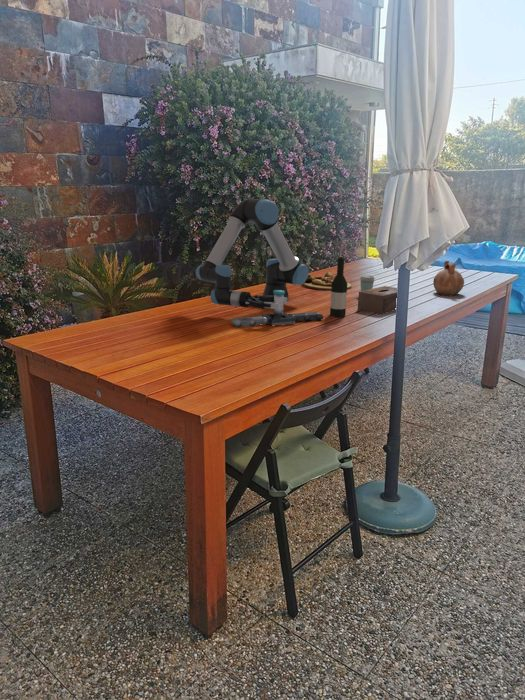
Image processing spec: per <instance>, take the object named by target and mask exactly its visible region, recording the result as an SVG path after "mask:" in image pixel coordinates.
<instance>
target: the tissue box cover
mask: <svg viewBox="0 0 525 700" xmlns="http://www.w3.org/2000/svg"><path fill="white" fill-rule="evenodd" d="M397 288H398V287H394V286H393V287H392V286H387V285H384V286H380V287H375V288H374V287H373V288H372V289H369V290H365V291H361V290H360V291H358V296H357V298H358V299H357V310H358V311H362V310H363V312H367V311H368V312H367V313H371V312H373V313H372V314H376V313H378V315H384V314H387V313H386V312H388V313H391V312H393V311H392V310H395V308H396V298H397ZM390 311H391V312H390ZM395 311H396V310H395ZM383 313H384V314H383Z"/></svg>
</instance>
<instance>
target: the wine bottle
mask: <svg viewBox="0 0 525 700" xmlns="http://www.w3.org/2000/svg"><path fill="white" fill-rule="evenodd" d="M344 267H345V258H344V256H342V255H339V256H338V257H337V268H336V275H335V276H336V277H335V278H334V277H333V281H332V289H331V291H330V292H331V293H330V305H329V307H330V309H329V316H330V315H331V316H330V317H332V316H335V317H334V318H345V317H346V313H347V312H346V309H347V295H348V289H347V280H346V277H345V275H344V272H345V271H344V269H345V268H344ZM344 316H345V317H344Z"/></svg>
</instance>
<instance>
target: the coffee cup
mask: <svg viewBox="0 0 525 700" xmlns="http://www.w3.org/2000/svg"><path fill="white" fill-rule="evenodd" d="M359 280H360V291H365V290H369V289H374V283H375V276H373V275H367V274H366V275H361V276H360V277H359Z"/></svg>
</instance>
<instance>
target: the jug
mask: <svg viewBox="0 0 525 700" xmlns="http://www.w3.org/2000/svg"><path fill="white" fill-rule="evenodd" d="M443 265H444V269H442V270H440V271H439V272H437V273H436V275H435V276H434V278H433V283H432V284H433V287H434V290H435V291H436V293H437V294H438V295H439V296H440V295H441V296H448V297H449V296H450V297H452V296H451V295H454V296H456V294H457V295H458V294H459V292H461V291H462V290H463V288H464V285H465V280H464V278H463V275H462V274H461V273H460V272H459V271H458V270H456V263H452V262H450V260H445V261H444V264H443Z"/></svg>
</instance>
